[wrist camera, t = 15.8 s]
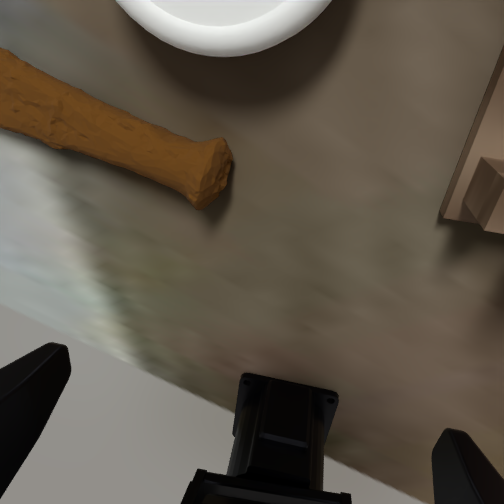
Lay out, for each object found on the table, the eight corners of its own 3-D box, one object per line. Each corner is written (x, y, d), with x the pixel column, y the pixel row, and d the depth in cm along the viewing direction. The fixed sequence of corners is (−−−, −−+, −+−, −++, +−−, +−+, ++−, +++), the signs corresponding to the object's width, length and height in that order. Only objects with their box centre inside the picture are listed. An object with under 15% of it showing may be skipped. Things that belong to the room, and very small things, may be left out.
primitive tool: (-118, 89, 22) (-190, 100, 19) (-143, -32, 19) (-233, -42, 16) (225, 200, 22) (208, 230, 19) (252, 95, 19) (238, 111, 16)
